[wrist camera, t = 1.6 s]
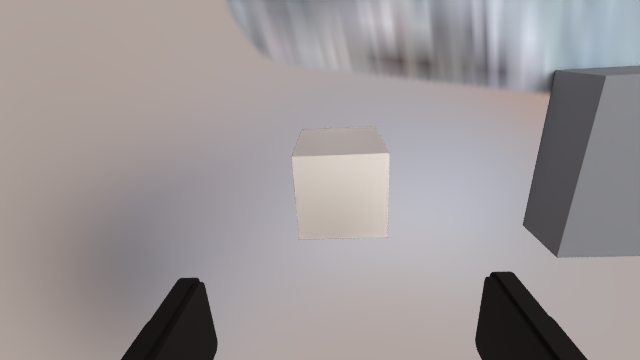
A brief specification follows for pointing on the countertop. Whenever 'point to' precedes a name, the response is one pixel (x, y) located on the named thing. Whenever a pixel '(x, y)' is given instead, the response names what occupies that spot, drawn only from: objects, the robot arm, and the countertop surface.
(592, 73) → the plinth
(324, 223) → the cube
